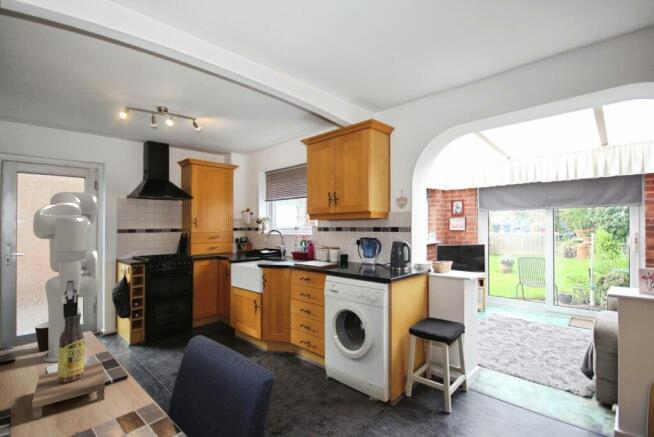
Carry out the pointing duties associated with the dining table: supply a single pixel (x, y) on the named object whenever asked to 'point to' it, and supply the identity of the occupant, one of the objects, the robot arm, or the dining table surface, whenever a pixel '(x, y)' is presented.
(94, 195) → the robot arm
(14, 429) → the dining table surface
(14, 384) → the dining table surface
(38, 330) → the coffee mug
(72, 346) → the sauce bottle
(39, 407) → the walnut shelf
